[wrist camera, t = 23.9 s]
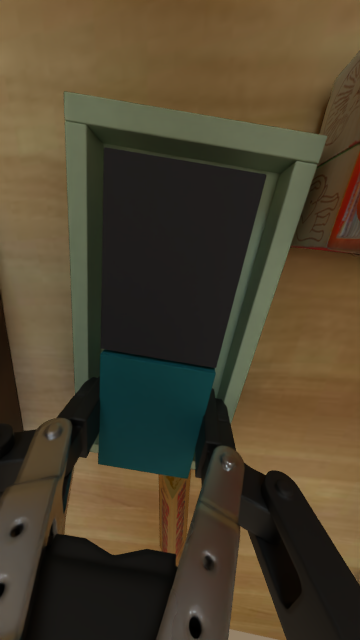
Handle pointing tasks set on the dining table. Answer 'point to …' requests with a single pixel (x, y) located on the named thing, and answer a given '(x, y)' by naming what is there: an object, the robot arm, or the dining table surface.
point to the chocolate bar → (173, 513)
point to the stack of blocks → (336, 174)
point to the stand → (7, 383)
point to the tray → (195, 146)
